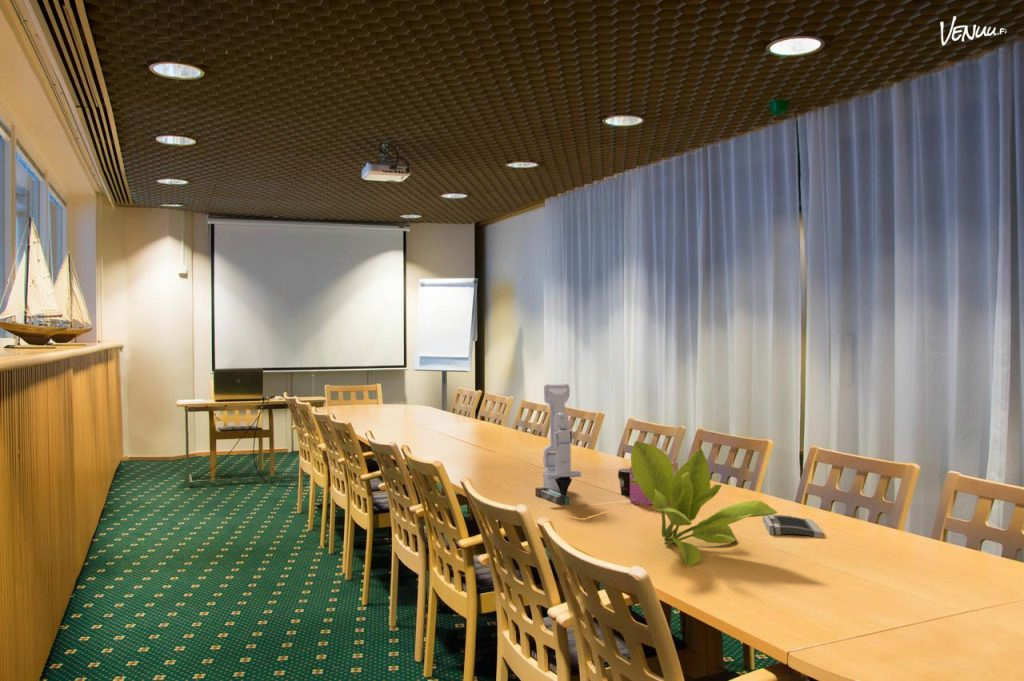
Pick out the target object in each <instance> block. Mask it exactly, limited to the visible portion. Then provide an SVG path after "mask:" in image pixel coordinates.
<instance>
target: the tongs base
mask: <svg viewBox="0 0 1024 681" xmlns="http://www.w3.org/2000/svg"><path fill="white" fill-rule="evenodd" d="M534 489H535V496H536V497H540V498H542V499H544V500H548V501H550V502H552V503H555V504H557V505H560V506H564V505H565V504H564V497H561V496H558V495H555V494H553V493H550V492H548V491H547V490H549V488H548V487H543V486H538V487H535V488H534Z"/></svg>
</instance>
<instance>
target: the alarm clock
mask: <svg viewBox="0 0 1024 681" xmlns="http://www.w3.org/2000/svg"><path fill="white" fill-rule="evenodd" d="M763 522H764V523H763ZM762 523H763V524H765V525H764V527H765V528H766V530H767V533H768V534H769V536H775V535H786V534H787V535H789V534H792V535H793V534H794V535H806V536H810V537H814V538H823V536H824V532H823V530H822V529H821V528H820V526H819V525H818V524H817V523H816V522H815V520H813V519H810V518H806V517H804V518H801V517H797V516H792V515H791V516H790V515H782V514H781V515H780V514H778V515H777V514H776V515H775V514H773V515H766V516H762Z"/></svg>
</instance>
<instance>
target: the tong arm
mask: <svg viewBox="0 0 1024 681" xmlns="http://www.w3.org/2000/svg"><path fill="white" fill-rule="evenodd" d="M547 491H548V492H550V493H553V494H555V495H558V496H561V497H564V505H569V504H570V496H569V495H567V494H566V495H562V494H561V493H560V492H558V491H552V490H547Z"/></svg>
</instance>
